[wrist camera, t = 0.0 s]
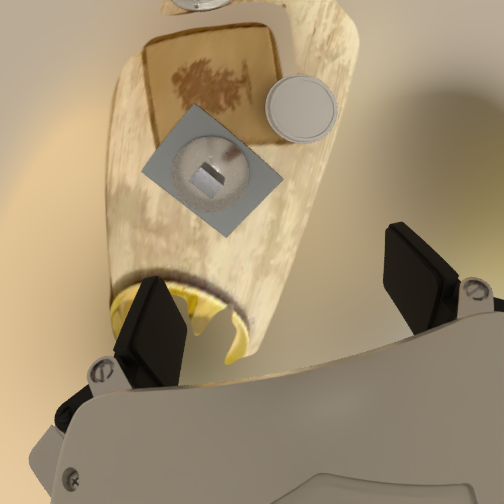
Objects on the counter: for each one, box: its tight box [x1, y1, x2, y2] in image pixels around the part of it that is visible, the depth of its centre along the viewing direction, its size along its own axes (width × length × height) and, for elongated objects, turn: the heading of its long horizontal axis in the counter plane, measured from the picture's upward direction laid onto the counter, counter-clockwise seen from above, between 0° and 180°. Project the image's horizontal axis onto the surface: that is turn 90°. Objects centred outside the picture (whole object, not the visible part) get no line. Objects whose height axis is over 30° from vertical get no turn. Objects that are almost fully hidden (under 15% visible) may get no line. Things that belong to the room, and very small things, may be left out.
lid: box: [171, 136, 249, 212], centre depth 41 cm, size 13×13×6 cm
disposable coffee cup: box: [265, 74, 337, 144], centre depth 35 cm, size 10×10×12 cm
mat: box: [141, 104, 283, 238], centre depth 45 cm, size 20×15×1 cm
